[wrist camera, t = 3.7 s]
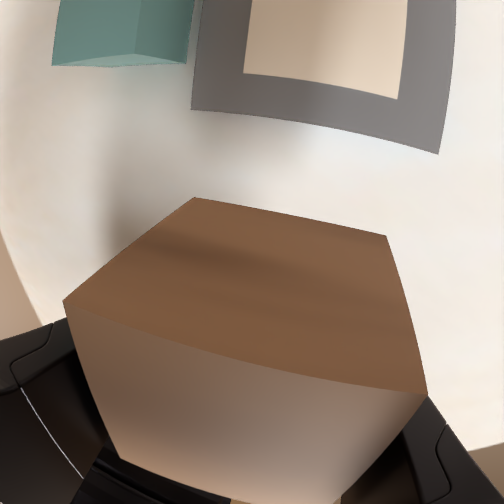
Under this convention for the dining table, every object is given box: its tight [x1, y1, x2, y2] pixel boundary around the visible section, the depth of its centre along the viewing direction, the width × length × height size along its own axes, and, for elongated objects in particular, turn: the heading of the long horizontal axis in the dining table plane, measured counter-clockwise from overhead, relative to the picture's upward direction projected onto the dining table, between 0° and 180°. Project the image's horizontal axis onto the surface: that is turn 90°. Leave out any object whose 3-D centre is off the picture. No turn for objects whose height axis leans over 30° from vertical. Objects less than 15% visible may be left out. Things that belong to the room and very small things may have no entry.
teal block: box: [52, 0, 194, 67], centre depth 12 cm, size 5×5×5 cm
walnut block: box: [63, 197, 428, 504], centre depth 7 cm, size 5×5×5 cm
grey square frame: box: [191, 0, 456, 154], centre depth 12 cm, size 11×12×1 cm
